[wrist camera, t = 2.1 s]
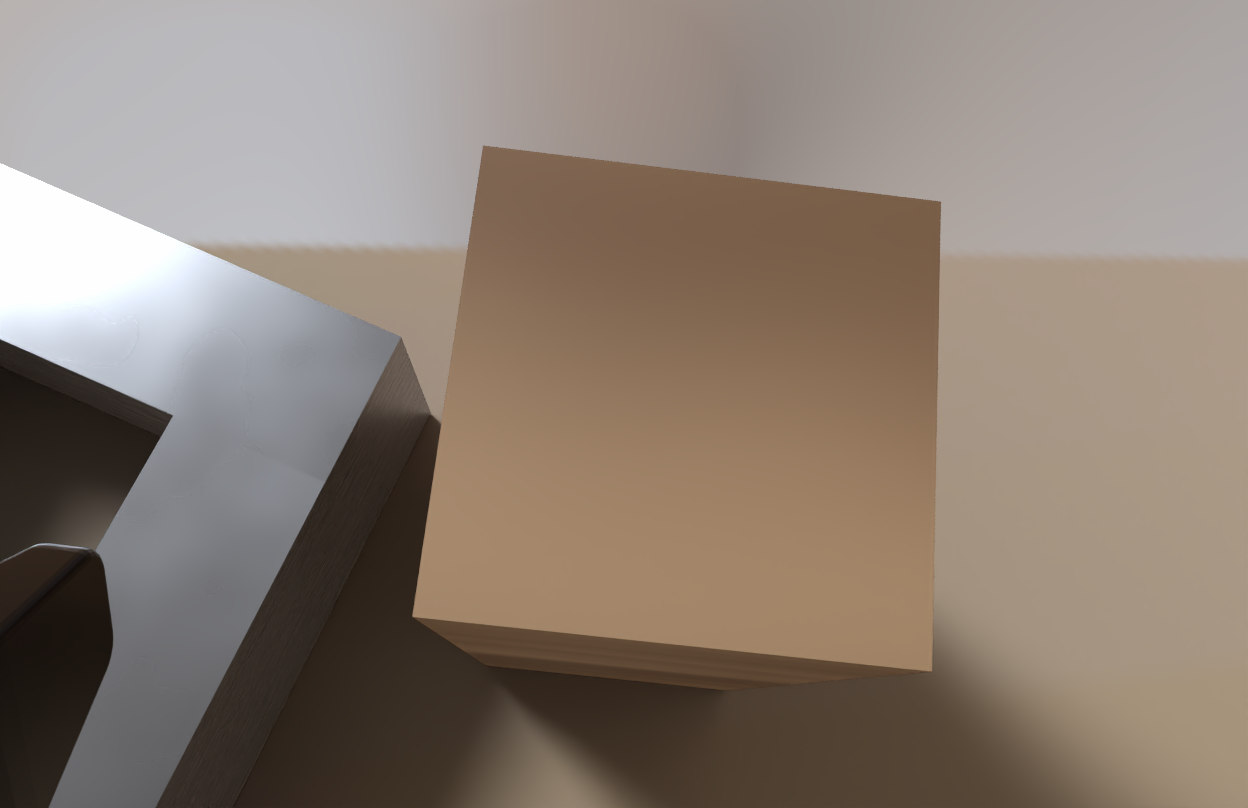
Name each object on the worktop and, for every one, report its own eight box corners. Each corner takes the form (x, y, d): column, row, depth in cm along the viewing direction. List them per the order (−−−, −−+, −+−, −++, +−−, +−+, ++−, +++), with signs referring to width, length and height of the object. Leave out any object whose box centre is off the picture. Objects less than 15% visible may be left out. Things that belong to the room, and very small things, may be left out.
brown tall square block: (725, 690, 18) (931, 671, 8) (485, 665, 18) (412, 617, 8) (741, 456, 19) (940, 202, 9) (516, 431, 19) (482, 145, 9)
